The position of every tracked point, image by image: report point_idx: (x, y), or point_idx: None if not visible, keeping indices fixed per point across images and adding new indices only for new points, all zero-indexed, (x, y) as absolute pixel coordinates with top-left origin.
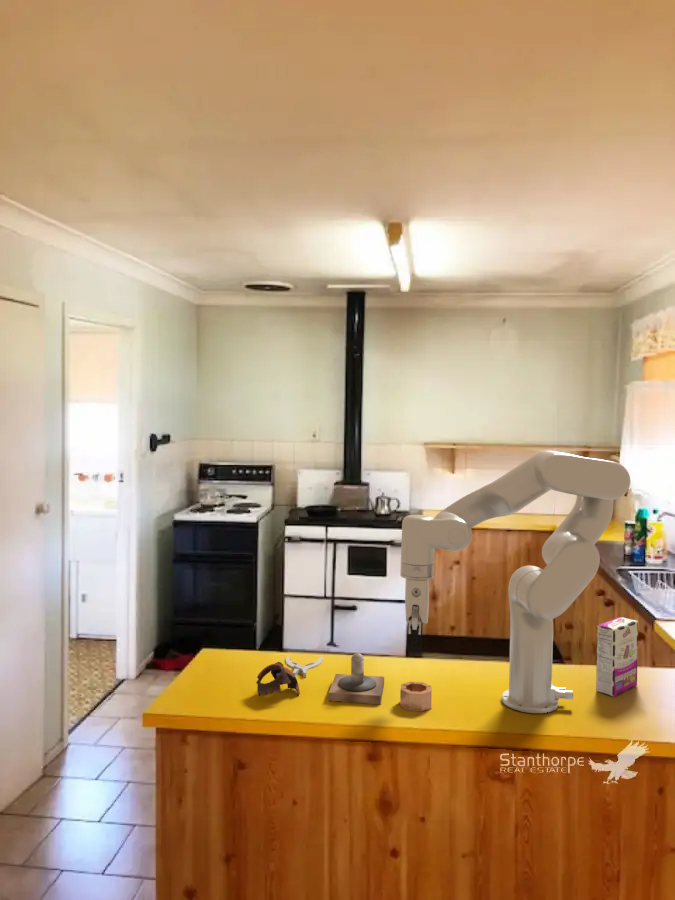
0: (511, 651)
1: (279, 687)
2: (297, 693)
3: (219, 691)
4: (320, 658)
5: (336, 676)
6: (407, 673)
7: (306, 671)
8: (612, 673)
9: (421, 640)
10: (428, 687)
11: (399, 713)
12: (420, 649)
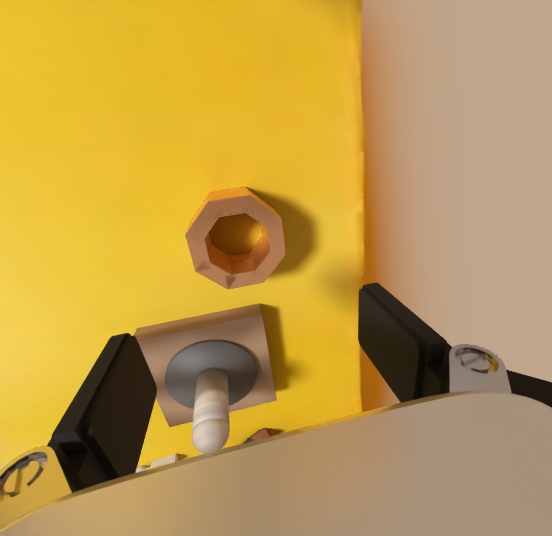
0: None
1: None
2: (268, 434)
3: None
4: None
5: (184, 420)
6: (9, 298)
7: (160, 465)
8: None
9: (415, 316)
10: (223, 209)
11: (295, 255)
12: (382, 290)
